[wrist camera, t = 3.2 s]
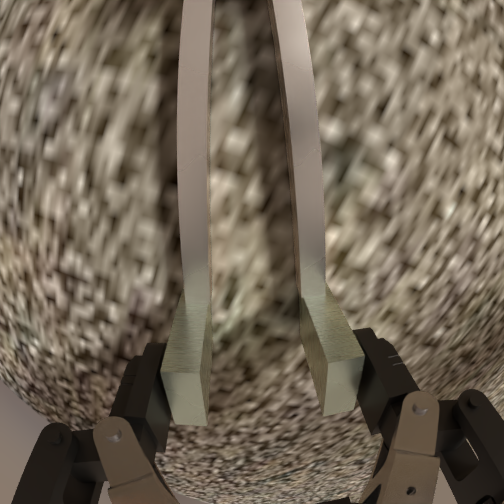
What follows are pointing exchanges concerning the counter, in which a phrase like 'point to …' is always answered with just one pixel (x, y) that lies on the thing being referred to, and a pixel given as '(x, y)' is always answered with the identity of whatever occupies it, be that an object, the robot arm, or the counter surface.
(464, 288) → the counter surface
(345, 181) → the counter surface
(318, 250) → the leg
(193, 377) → the leg
